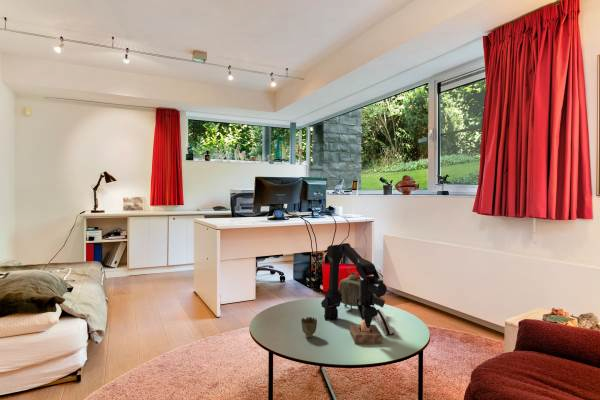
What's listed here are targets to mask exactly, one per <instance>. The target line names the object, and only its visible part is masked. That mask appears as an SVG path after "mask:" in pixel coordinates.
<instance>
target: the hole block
mask: <svg viewBox="0 0 600 400" xmlns="http://www.w3.org/2000/svg"><path fill="white" fill-rule="evenodd" d="M349 334H350V336H351V338H352V341H353V343H354V345H381V344H383V335H382V332H381V331H380V330H379V328H378V326H377V325H376V324H370V332H361V324H349Z"/></svg>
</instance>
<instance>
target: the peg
mask: <svg viewBox="0 0 600 400" xmlns="http://www.w3.org/2000/svg"><path fill="white" fill-rule="evenodd" d="M360 325H361V332H370V328H367V327H366V324H365V321H364V320H362V319H361V322H360Z"/></svg>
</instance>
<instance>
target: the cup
mask: <svg viewBox="0 0 600 400" xmlns="http://www.w3.org/2000/svg"><path fill="white" fill-rule="evenodd" d="M300 321H301V329H302V333H303V334H304V336H305V337H306V338H308V339H311V338H312V337H313V336H314V334H315V333H316V330H317V326H318V319H317V317H316V318H315V317H312V316H309V317H308V316H307V317H306V318H305V317H303V318H301V320H300Z"/></svg>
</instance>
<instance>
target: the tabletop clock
mask: <svg viewBox="0 0 600 400" xmlns="http://www.w3.org/2000/svg"><path fill="white" fill-rule="evenodd" d="M349 269H356V266H349V267H347V273H349V274H350V275H348V277H346V278H343V279H341V280H340V282H339V284H338V290H339V291H340V293H342V301H341V303H340V304H343V305H344V307H345V308H347V307H348V306H350V308H349V312H353V307H357V305H356V298H357V297H360V294H359V291H360V279H357V277H358V276H357V274H358V275H359V273H358V272H357V271H356V272H355V271H352V272H351V271H349Z"/></svg>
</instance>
